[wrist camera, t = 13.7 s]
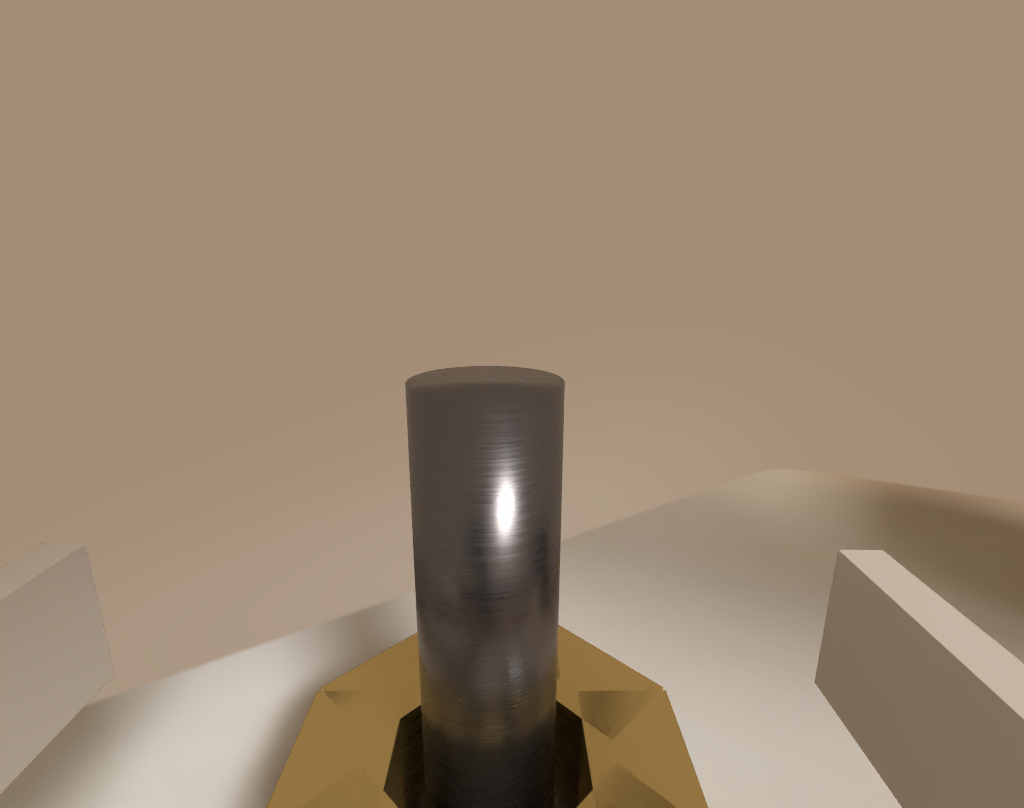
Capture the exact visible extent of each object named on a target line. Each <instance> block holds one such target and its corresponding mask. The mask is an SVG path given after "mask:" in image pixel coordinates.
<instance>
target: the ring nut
mask: <svg viewBox="0 0 1024 808" xmlns="http://www.w3.org/2000/svg"><path fill="white" fill-rule="evenodd" d="M267 808H426V794H425V773H424V753H423V732H422V712H421V692H420V671H419V651H418V632H417V633H416V634H414V635H412V636H410V637H409V638H407V639H405V640H403V641H402V642H400V643H398V644H396V645H395V646H393V647H391V648H389V649H388V650H386V651H384V652H382V653H381V654H379V655H377V656H375V657H374V658H372V659H370V660H369V661H367V662H365V663H363V664H362V665H360V666H358V667H356V668H355V669H353V670H351V671H349V672H348V673H346V674H344V675H342V676H341V677H339V678H337V679H335V680H334V681H332V682H330V683H328V684H327V685H325V686H323V687H321V691H317V693H316V696H315V698H314V700H313V703H312V705H311V707H310V709H309V712H308V714H307V716H306V719H305V721H304V723H303V725H302V728H301V730H300V732H299V735H298V737H297V739H296V741H295V744H294V746H293V748H292V751H291V753H290V755H289V757H288V760H287V762H286V764H285V767H284V769H283V771H282V773H281V776H280V778H279V780H278V783H277V785H276V787H275V789H274V792H273V794H272V796H271V799H270V801H269V803H268V805H267ZM553 808H708V806H707V803H706V800H705V798H704V795H703V792H702V789H701V786H700V784H699V781H698V778H697V775H696V773H695V770H694V767H693V764H692V762H691V759H690V756H689V753H688V750H687V748H686V745H685V742H684V739H683V737H682V734H681V731H680V728H679V726H678V723H677V720H676V717H675V714H674V712H673V709H672V706H671V703H670V701H669V698H668V695H667V692H666V691H663V687H662V686H660V685H658V684H657V683H655V682H653V681H652V680H650V679H648V678H647V677H645V676H643V675H642V674H640V673H638V672H637V671H635V670H633V669H631V668H630V667H628V666H626V665H625V664H623V663H621V662H620V661H618V660H616V659H615V658H613V657H611V656H610V655H608V654H606V653H605V652H603V651H601V650H600V649H598V648H596V647H595V646H593V645H591V644H590V643H588V642H586V641H585V640H583V639H581V638H580V637H578V636H576V635H575V634H573V633H571V632H570V631H568V630H566V629H565V628H563V627H561V626H560V625H558V651H557V688H556V726H555V764H554V802H553Z"/></svg>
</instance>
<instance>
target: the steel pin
mask: <svg viewBox="0 0 1024 808" xmlns="http://www.w3.org/2000/svg"><path fill="white" fill-rule="evenodd" d="M405 385H406V406H407V426H408V446H409V466H410V487H411V507H412V528H413V549H414V569H415V590H416V610H417V630H418V651H419V671H420V692H421V712H422V732H423V753H424V773H425V794H426V808H553V802H554V764H555V726H556V688H557V651H558V613H559V575H560V537H561V536H560V535H561V534H560V533H561V499H562V462H563V424H564V386H565V382H564V380H563V379H562V378H561V377H560V376H558V375H555V374H552V373H549V372H546V371H541V370H535V369H528V368H520V367H506V366H470V367H456V368H446V369H439V370H434V371H429V372H425V373H421V374H418V375H415V376H413V377H411V378H409V379H408V380H407V381H406V383H405Z"/></svg>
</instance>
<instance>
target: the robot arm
mask: <svg viewBox="0 0 1024 808" xmlns="http://www.w3.org/2000/svg"><path fill="white" fill-rule="evenodd" d="M113 676H114V671H113V667H112V662H111V658H110V653H109V648H108V644H107V639H106V635H105V631H104V626H103V621H102V617H101V613H100V608H99V603H98V599H97V594H96V589H95V585H94V580H93V576H92V571H91V567H90V562H89V558H88V553H87V549H86V544H85V543H41V544H39V545H38V546H36V547H34V548H33V549H31V550H29V551H28V552H26V553H24V554H23V555H21V556H19V557H18V558H16V559H14V560H13V561H11V562H10V563H8V564H6V565H5V566H3V567H1V568H0V794H1V793H2V792H3V791H4V790H5V789H6V788H7V787H8V786H9V785H10V784H11V783H12V782H13V780H14V779H15V778H16V777H17V776H18V775H19V774H20V773H21V772H22V771H23V770H24V769H25V768H26V767H27V766H28V765H29V764H30V763H31V762H32V761H33V760H34V759H35V757H36V756H37V755H38V754H39V753H40V752H41V751H42V750H43V749H44V748H45V747H46V746H47V745H48V744H49V743H50V742H51V741H52V740H53V739H54V738H55V737H56V736H57V735H58V733H59V732H60V731H61V730H62V729H63V728H64V727H65V726H66V725H67V724H68V723H69V722H70V721H71V720H72V719H73V718H74V717H75V716H76V715H77V714H78V713H79V712H80V710H81V709H82V708H83V707H84V706H85V705H86V704H87V703H88V702H89V701H90V700H91V699H92V698H93V697H94V696H95V695H96V694H97V693H98V692H99V691H100V689H102V687H103V686H104V685H105V684H106V683H107V682H108V681H109V680H110V679H111V678H112V677H113ZM815 683H816V685H817V686H818V688H819V689H820V690H821V692H822V693H823V695H824V696H825V698H826V699H827V700H828V702H829V703H830V705H831V706H832V708H833V709H834V711H835V712H836V713H837V715H838V716H839V718H840V719H841V721H842V722H843V723H844V725H845V726H846V728H847V729H848V731H849V732H850V733H851V735H852V736H853V738H854V739H855V741H856V742H857V743H858V745H859V746H860V748H861V749H862V751H863V752H864V753H865V755H866V756H867V758H868V759H869V761H870V762H871V763H872V765H873V766H874V768H875V769H876V771H877V772H878V773H879V775H880V776H881V778H882V779H883V781H884V782H885V783H886V785H887V786H888V788H889V789H890V791H891V792H892V793H893V795H894V796H895V798H896V799H897V801H898V802H899V803H900V805H901V806H902V808H1024V663H1022V662H1021V661H1020V660H1019V659H1017V658H1016V657H1015V656H1014V655H1012V654H1011V653H1010V652H1009V651H1007V650H1006V649H1005V648H1004V647H1002V646H1001V645H1000V644H999V643H997V642H996V641H995V640H994V639H993V638H991V637H990V636H989V635H988V634H986V633H985V632H984V631H983V630H981V629H980V628H979V627H978V626H976V625H975V624H974V623H973V622H971V621H970V620H969V619H968V618H966V617H965V616H964V615H963V614H961V613H960V612H959V611H958V610H956V609H955V608H954V607H953V606H952V605H950V604H949V603H948V602H947V601H945V600H944V599H943V598H942V597H940V596H939V595H938V594H937V593H935V592H934V591H933V590H932V589H930V588H929V587H928V586H927V585H925V584H924V583H923V582H922V581H920V580H919V579H918V578H917V577H915V576H914V575H913V574H912V573H910V572H909V571H908V570H907V569H906V568H904V567H903V566H902V565H901V564H899V563H898V562H897V561H896V560H894V559H893V558H892V557H891V556H889V555H888V554H887V553H886V552H884V551H883V550H838V555H837V560H836V566H835V571H834V577H833V583H832V588H831V594H830V599H829V605H828V610H827V616H826V622H825V627H824V633H823V638H822V644H821V649H820V655H819V661H818V666H817V672H816V677H815Z"/></svg>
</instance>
